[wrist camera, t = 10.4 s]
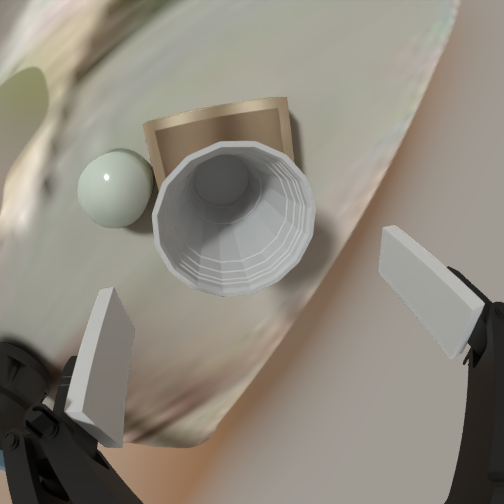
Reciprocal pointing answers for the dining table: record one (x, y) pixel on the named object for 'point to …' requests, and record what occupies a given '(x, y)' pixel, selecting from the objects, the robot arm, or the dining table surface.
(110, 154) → the pale green ball
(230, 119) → the maple open box
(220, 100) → the dining table surface
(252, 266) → the plastic cup
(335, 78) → the dining table surface
